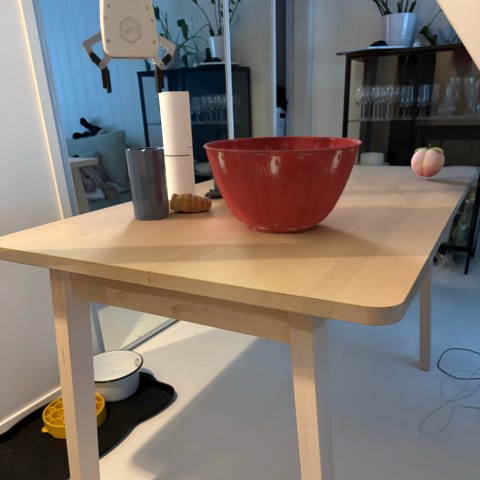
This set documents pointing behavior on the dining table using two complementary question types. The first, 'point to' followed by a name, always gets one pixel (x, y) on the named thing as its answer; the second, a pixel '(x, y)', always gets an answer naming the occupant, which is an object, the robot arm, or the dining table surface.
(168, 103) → the cylindrical container
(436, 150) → the decorative fruit
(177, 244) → the dining table surface
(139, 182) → the cup
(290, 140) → the mixing bowl
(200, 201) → the pastry
